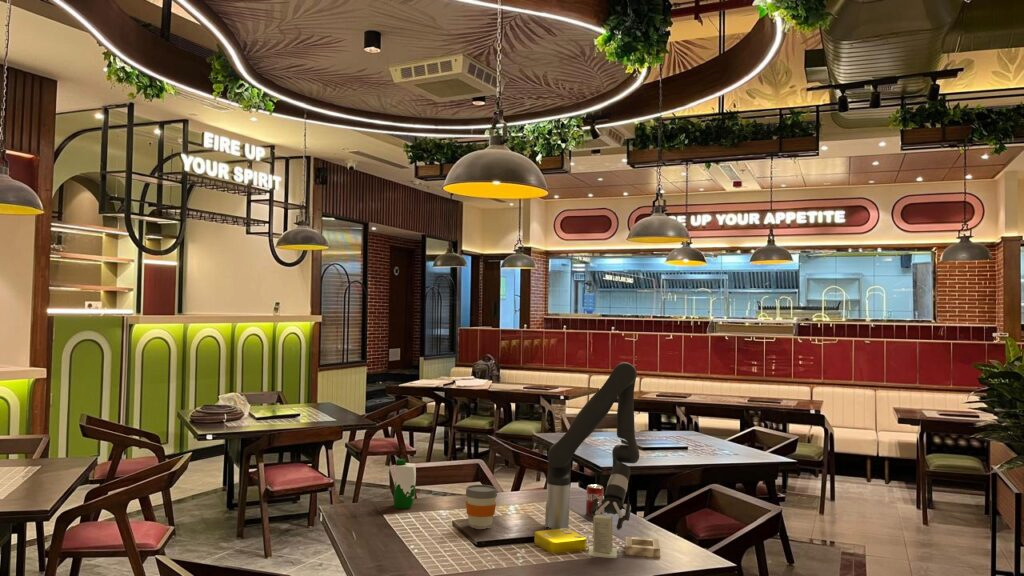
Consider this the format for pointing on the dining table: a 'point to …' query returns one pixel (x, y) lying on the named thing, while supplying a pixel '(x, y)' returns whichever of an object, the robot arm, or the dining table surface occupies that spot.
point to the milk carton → (404, 484)
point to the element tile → (560, 540)
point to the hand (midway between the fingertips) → (606, 527)
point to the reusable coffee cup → (481, 504)
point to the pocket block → (642, 547)
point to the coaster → (600, 554)
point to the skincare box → (602, 533)
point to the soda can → (593, 496)
